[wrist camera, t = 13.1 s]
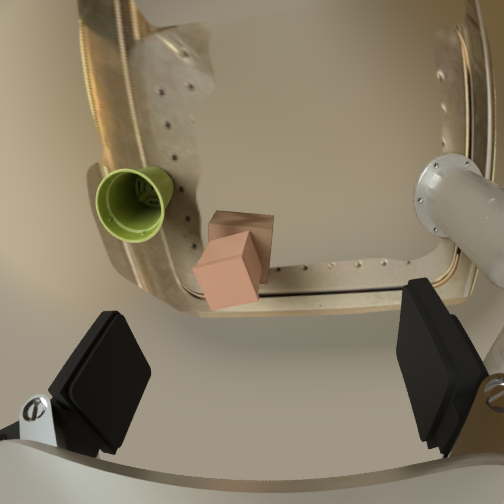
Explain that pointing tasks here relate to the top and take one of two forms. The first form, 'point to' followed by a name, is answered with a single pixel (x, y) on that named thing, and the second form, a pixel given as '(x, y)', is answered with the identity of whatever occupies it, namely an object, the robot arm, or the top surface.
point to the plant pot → (134, 202)
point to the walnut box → (242, 222)
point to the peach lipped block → (229, 271)
